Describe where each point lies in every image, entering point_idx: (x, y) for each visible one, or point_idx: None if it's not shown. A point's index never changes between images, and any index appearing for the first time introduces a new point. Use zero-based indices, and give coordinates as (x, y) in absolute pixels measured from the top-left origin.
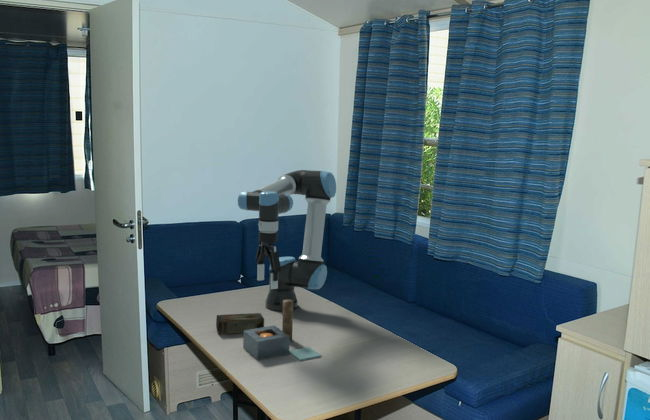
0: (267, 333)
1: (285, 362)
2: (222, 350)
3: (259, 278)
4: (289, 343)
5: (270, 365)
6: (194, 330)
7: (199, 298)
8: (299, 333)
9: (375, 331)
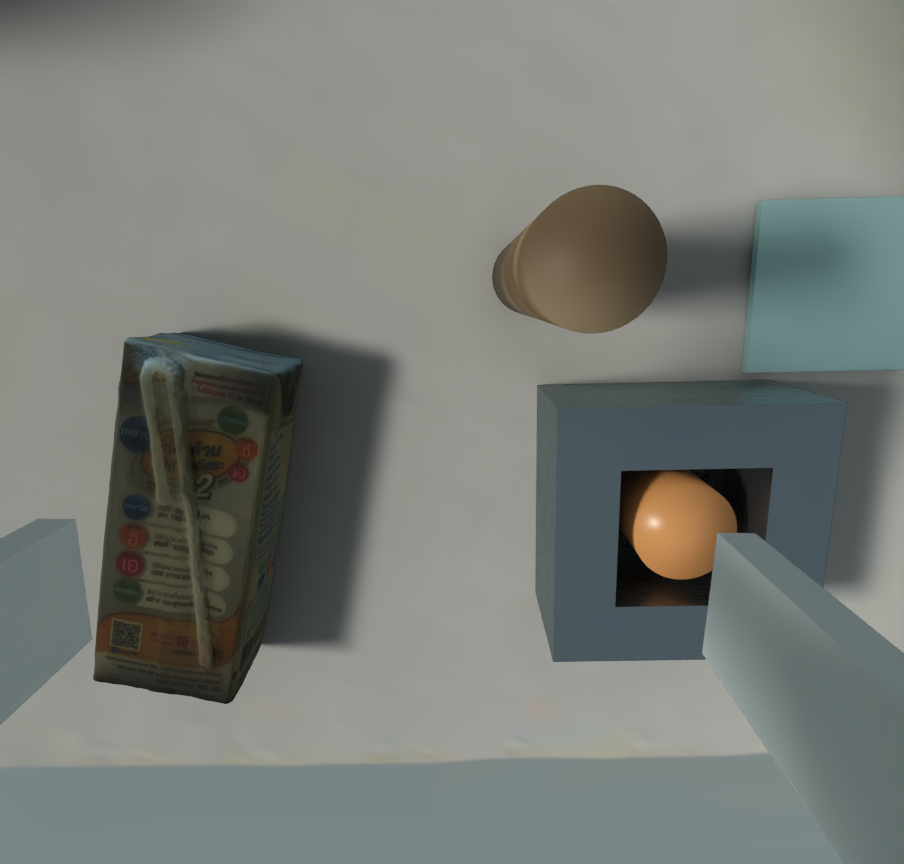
0: (654, 510)
1: (867, 458)
2: (513, 701)
3: (60, 633)
4: (810, 393)
5: (853, 553)
6: (136, 738)
7: None
8: (447, 121)
9: None
